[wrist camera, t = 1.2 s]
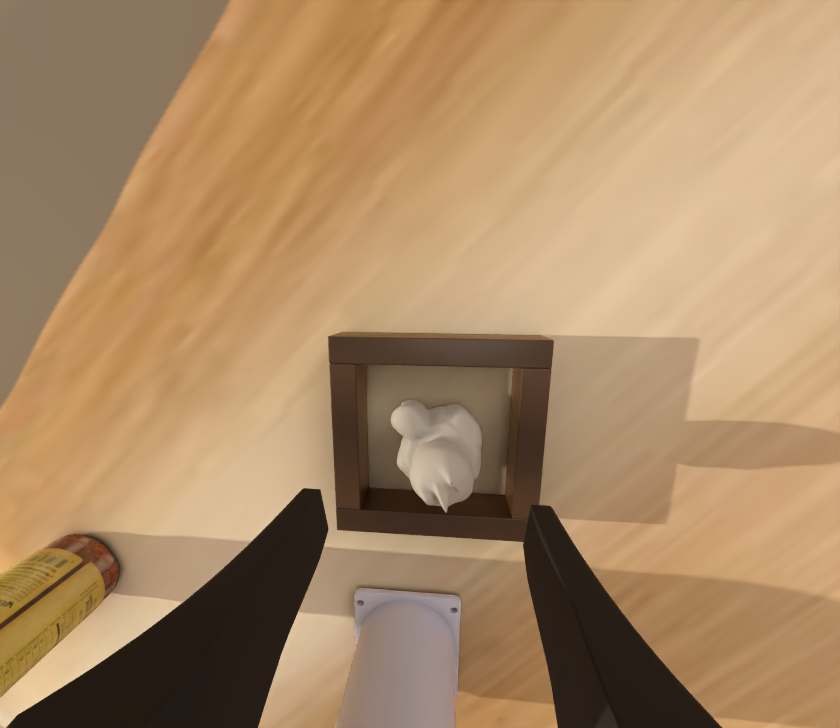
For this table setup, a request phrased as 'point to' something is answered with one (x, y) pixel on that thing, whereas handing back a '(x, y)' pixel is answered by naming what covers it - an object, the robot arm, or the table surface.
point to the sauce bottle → (50, 600)
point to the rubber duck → (438, 451)
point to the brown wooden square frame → (405, 507)
